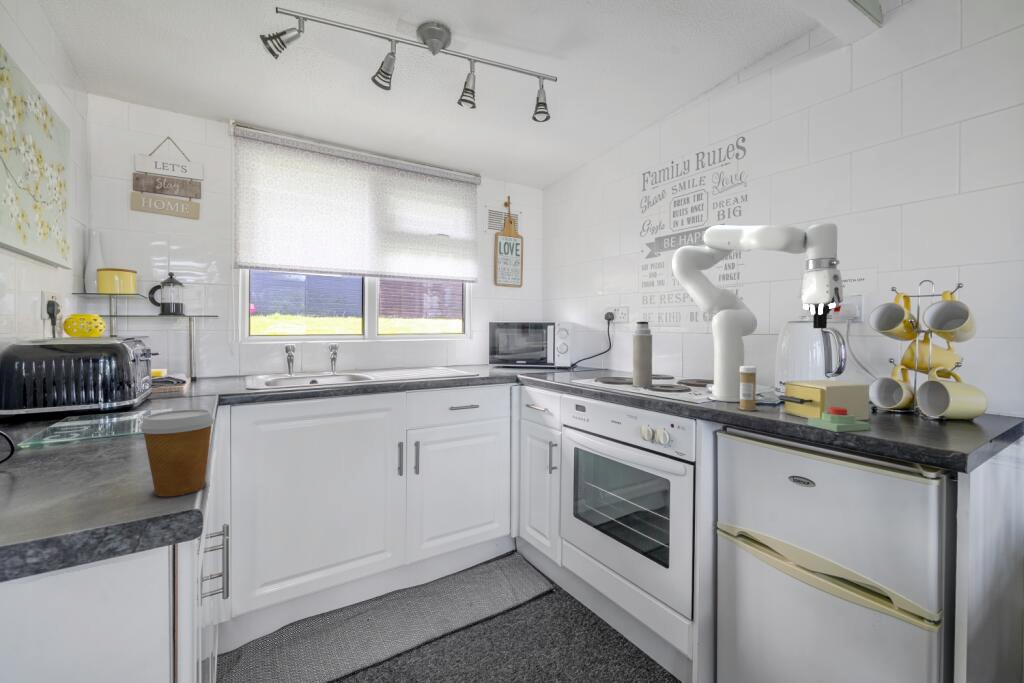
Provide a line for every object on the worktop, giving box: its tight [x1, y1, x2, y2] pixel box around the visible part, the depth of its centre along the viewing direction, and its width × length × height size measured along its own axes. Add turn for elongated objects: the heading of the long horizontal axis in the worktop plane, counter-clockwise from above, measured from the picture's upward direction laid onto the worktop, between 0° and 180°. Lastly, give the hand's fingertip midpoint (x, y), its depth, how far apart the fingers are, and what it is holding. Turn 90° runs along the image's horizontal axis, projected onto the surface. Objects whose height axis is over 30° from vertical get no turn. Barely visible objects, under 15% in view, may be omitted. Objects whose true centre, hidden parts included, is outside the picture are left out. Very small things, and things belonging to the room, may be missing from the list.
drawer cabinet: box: [786, 379, 870, 421], centre depth 126 cm, size 15×13×10 cm
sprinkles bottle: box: [739, 365, 758, 412], centre depth 136 cm, size 5×5×13 cm
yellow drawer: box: [778, 383, 824, 418], centre depth 125 cm, size 18×11×8 cm, turn 103°
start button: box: [829, 407, 847, 415], centre depth 112 cm, size 4×4×2 cm
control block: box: [807, 411, 870, 433], centre depth 112 cm, size 8×10×4 cm
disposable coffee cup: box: [139, 408, 216, 498], centre depth 70 cm, size 10×10×12 cm
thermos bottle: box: [632, 321, 653, 388], centre depth 193 cm, size 8×8×28 cm
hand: (819, 328), depth 132 cm, fingers closed
